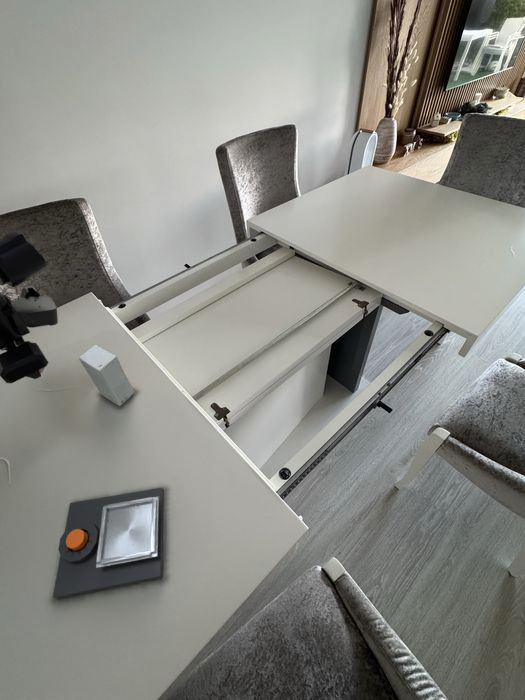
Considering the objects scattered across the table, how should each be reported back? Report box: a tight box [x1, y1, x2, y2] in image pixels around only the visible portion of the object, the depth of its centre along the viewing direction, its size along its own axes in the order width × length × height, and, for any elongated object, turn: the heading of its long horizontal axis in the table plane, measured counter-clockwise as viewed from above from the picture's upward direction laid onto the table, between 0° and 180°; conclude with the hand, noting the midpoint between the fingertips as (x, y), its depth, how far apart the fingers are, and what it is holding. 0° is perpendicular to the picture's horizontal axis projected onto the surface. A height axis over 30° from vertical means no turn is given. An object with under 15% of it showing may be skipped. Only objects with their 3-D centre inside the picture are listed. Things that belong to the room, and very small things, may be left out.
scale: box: [52, 487, 165, 599], centre depth 54 cm, size 15×13×3 cm
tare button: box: [66, 529, 88, 550], centre depth 52 cm, size 3×3×2 cm
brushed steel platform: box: [96, 497, 159, 568], centre depth 53 cm, size 9×9×1 cm
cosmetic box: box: [78, 344, 135, 407], centre depth 69 cm, size 6×4×12 cm
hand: (33, 368), depth 63 cm, fingers closed on egg, 5 cm apart
